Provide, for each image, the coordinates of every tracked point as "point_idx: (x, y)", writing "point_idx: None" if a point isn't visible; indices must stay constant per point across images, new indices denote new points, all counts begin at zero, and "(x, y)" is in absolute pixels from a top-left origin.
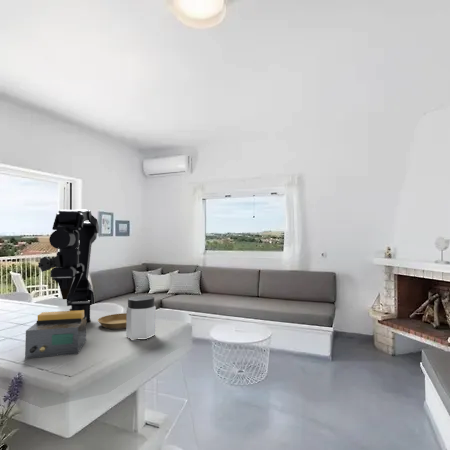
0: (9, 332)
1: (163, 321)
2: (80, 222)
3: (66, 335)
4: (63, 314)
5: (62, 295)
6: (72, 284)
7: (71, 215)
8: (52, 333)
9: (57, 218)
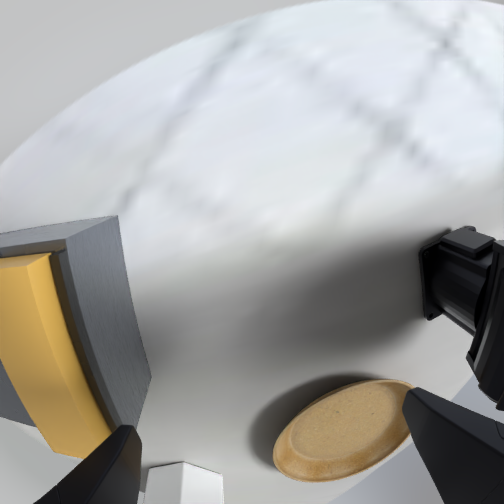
0: (334, 13)
1: (331, 492)
2: None
3: None
4: (17, 392)
5: (102, 448)
6: (455, 462)
7: None
8: None
9: None
